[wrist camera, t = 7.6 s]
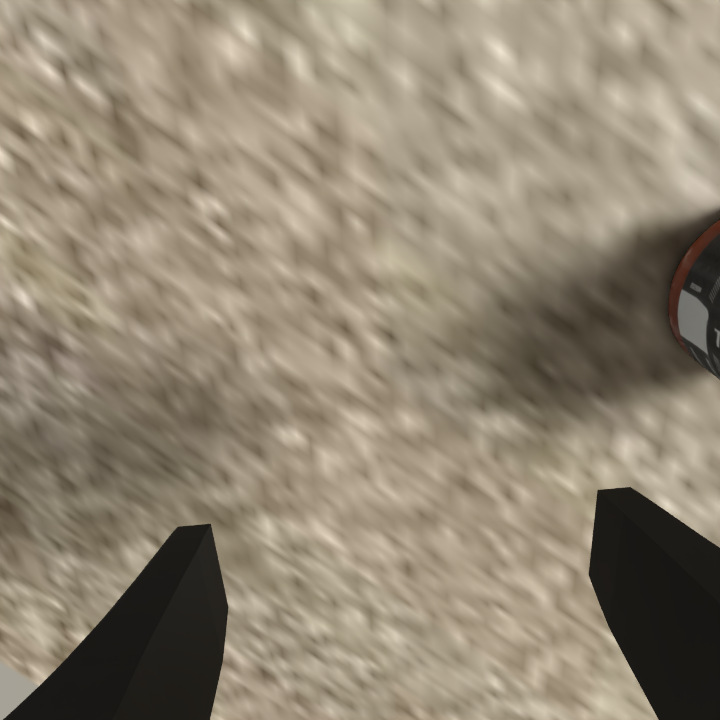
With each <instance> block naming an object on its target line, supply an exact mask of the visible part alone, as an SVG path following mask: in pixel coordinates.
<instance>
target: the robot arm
mask: <svg viewBox="0 0 720 720" xmlns="http://www.w3.org/2000/svg"><path fill="white" fill-rule="evenodd" d="M589 577H590V580H591V582H592V585H593V588H594V590H595V593H596V596H597V598H598V601H599V604H600V606H601V609H602V611H603V613H604V616H605V618H606V621H607V623H608V626H609V628H610V630H611V632H612V634H613V636H614V637H615V639H616V641H617V643H618V645H619V647H620V649H621V651H622V653H623V654H624V656H625V658H626V660H627V662H628V664H629V666H630V668H631V669H632V671H633V673H634V675H635V677H636V679H637V680H638V682H639V684H640V686H641V688H642V690H643V691H644V693H645V695H646V697H647V699H648V701H649V703H650V704H651V706H652V708H653V710H654V712H655V714H656V715H657V717H658V719H659V720H720V548H719V547H718V546H716V545H715V544H713V543H712V542H710V541H709V540H707V539H706V538H704V537H703V536H701V535H700V534H698V533H697V532H695V531H694V530H693V529H691V528H690V527H688V526H687V525H685V524H684V523H682V522H681V521H680V520H678V519H677V518H675V517H674V516H672V515H671V514H669V513H668V512H667V511H665V510H664V509H662V508H661V507H659V506H658V505H656V504H655V503H654V502H652V501H651V500H649V499H648V498H646V497H645V496H643V495H642V494H640V493H639V492H637V491H636V490H634V489H632V488H631V487H627V488H615V489H604V490H598V492H597V502H596V511H595V520H594V530H593V539H592V549H591V558H590V567H589ZM227 615H228V604H227V599H226V594H225V589H224V585H223V580H222V575H221V570H220V566H219V561H218V556H217V551H216V547H215V542H214V537H213V533H212V528H211V524H205V525H193V526H182V527H177V528H176V529H175V531H174V532H173V533H172V534H171V535H170V536H169V538H168V539H167V540H166V541H165V543H164V544H163V545H162V547H161V548H160V549H159V550H158V552H157V553H156V554H155V556H154V557H153V558H152V559H151V561H150V562H149V563H148V564H147V566H146V567H145V568H144V569H143V571H142V572H141V573H140V574H139V576H138V577H137V578H136V579H135V581H134V582H133V583H132V584H131V586H130V587H129V588H128V589H127V590H126V592H125V593H124V594H123V595H122V596H121V598H120V599H119V600H118V601H117V602H116V604H115V605H114V606H113V607H112V608H111V610H110V611H109V612H108V613H107V614H106V616H105V617H104V618H103V619H102V620H101V621H100V622H99V624H98V625H97V626H96V627H95V628H94V629H93V630H92V631H91V632H90V633H89V635H88V636H87V637H86V638H85V639H84V640H83V641H82V642H81V643H80V644H79V646H78V647H77V648H76V649H75V650H74V651H73V652H72V653H71V654H70V655H69V656H68V658H67V659H66V660H65V661H64V662H63V663H62V664H61V665H60V666H59V667H58V668H57V669H56V670H55V671H54V672H53V673H52V674H51V675H50V676H49V677H48V678H47V679H46V680H45V681H44V682H43V683H42V684H41V685H40V686H39V687H38V688H37V689H36V690H35V691H34V692H33V693H31V695H29V696H28V697H27V698H26V699H25V700H24V701H23V702H22V703H21V704H20V705H19V706H18V707H17V708H16V709H15V710H13V711H12V712H11V713H10V714H9V715H8V716H7V717H6V718H4V719H3V720H210V716H211V712H212V707H213V703H214V698H215V694H216V689H217V685H218V680H219V676H220V671H221V666H222V662H223V653H224V644H225V636H226V625H227Z"/></svg>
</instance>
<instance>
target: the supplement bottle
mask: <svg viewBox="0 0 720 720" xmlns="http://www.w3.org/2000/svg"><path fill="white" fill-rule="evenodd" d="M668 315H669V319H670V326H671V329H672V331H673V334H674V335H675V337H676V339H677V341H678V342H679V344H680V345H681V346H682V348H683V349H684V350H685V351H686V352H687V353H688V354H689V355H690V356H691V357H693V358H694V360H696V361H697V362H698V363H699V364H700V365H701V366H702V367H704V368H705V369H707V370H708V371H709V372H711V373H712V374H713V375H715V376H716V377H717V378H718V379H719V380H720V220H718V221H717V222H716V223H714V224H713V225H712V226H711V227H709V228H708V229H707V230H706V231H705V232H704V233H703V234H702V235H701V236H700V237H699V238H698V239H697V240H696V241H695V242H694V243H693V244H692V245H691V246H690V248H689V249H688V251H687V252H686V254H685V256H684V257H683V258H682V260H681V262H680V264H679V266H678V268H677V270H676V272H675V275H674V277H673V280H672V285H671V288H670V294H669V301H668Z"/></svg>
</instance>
